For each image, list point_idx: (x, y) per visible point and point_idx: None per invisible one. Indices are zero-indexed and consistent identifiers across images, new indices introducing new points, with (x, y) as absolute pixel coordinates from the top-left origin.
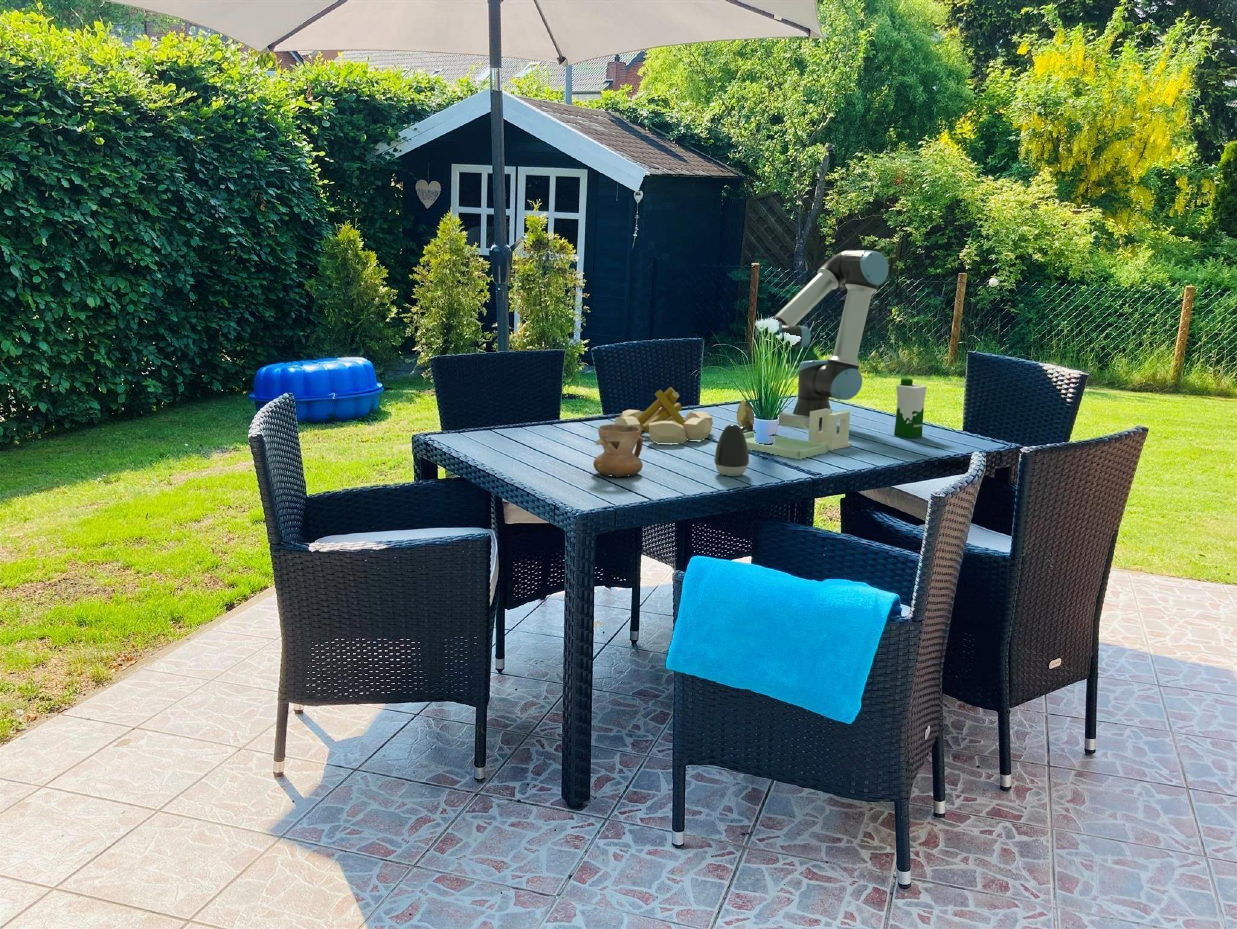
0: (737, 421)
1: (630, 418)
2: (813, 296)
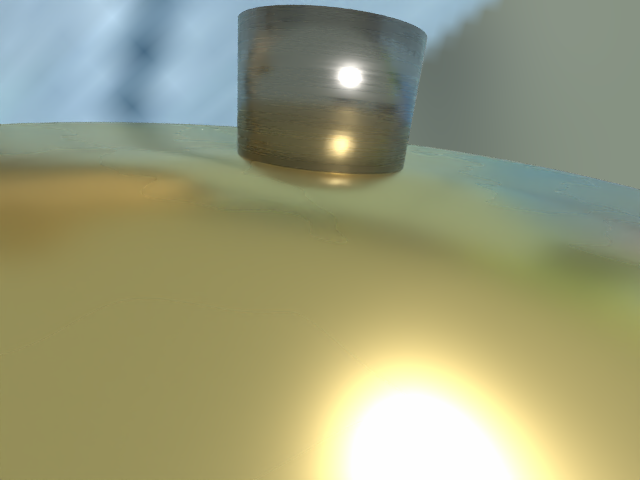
0: (120, 123)
1: None
2: None
